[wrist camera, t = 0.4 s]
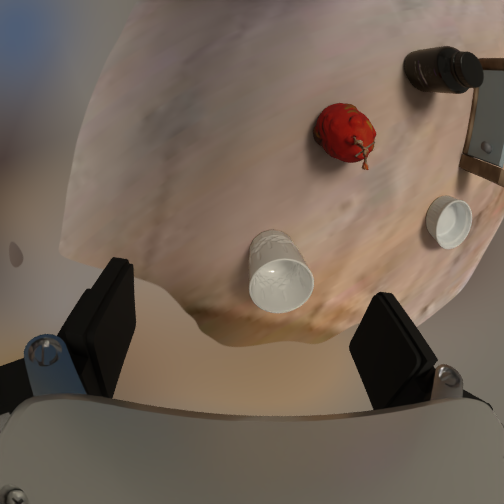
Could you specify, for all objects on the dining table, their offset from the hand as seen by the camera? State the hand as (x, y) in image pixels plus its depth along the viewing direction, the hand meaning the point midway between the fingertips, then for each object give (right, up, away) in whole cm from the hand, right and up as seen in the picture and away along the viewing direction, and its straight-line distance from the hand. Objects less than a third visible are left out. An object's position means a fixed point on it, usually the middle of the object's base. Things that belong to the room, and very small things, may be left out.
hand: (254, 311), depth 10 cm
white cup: (+3, +3, +33) cm, 33 cm away
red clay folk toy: (+11, +19, +25) cm, 33 cm away
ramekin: (+33, +9, +32) cm, 47 cm away
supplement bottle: (+25, +29, +21) cm, 44 cm away
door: (+38, +26, +22) cm, 51 cm away
